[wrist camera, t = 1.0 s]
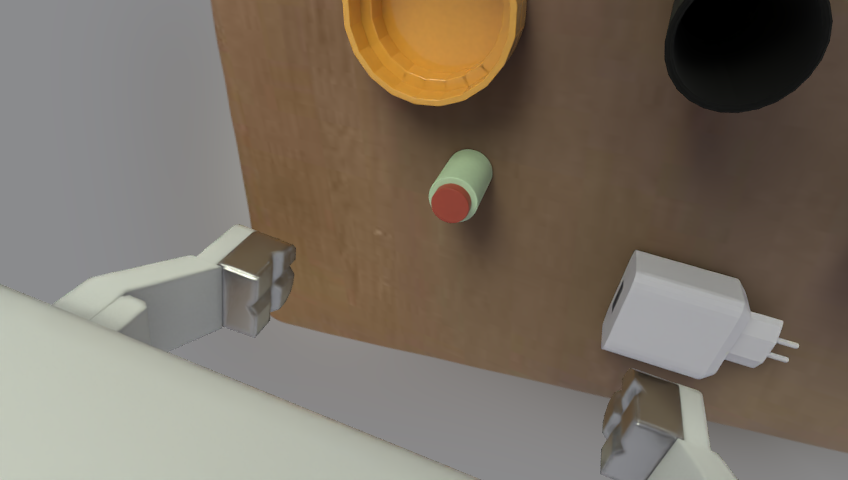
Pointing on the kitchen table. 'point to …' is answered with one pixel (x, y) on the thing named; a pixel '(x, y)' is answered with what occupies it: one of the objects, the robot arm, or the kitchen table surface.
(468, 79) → the bowl
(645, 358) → the charger
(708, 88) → the cup
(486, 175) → the container
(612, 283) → the kitchen table surface
